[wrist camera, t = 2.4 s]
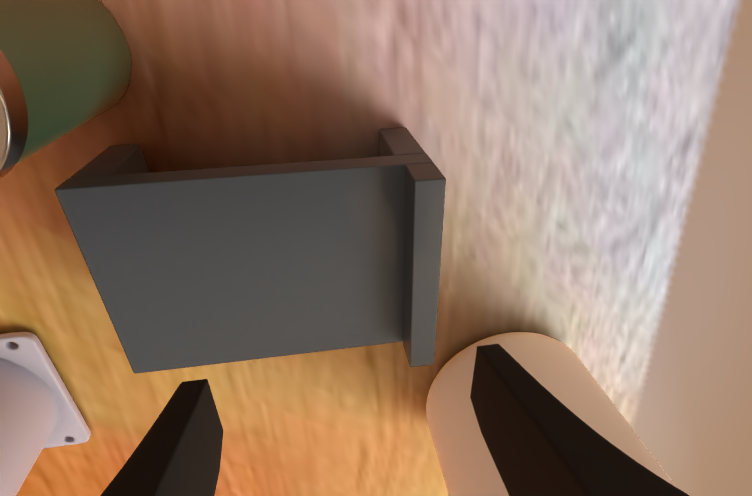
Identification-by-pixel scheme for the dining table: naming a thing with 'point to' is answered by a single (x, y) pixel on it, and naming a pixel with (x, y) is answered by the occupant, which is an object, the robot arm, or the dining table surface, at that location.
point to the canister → (55, 71)
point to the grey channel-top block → (263, 254)
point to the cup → (554, 372)
